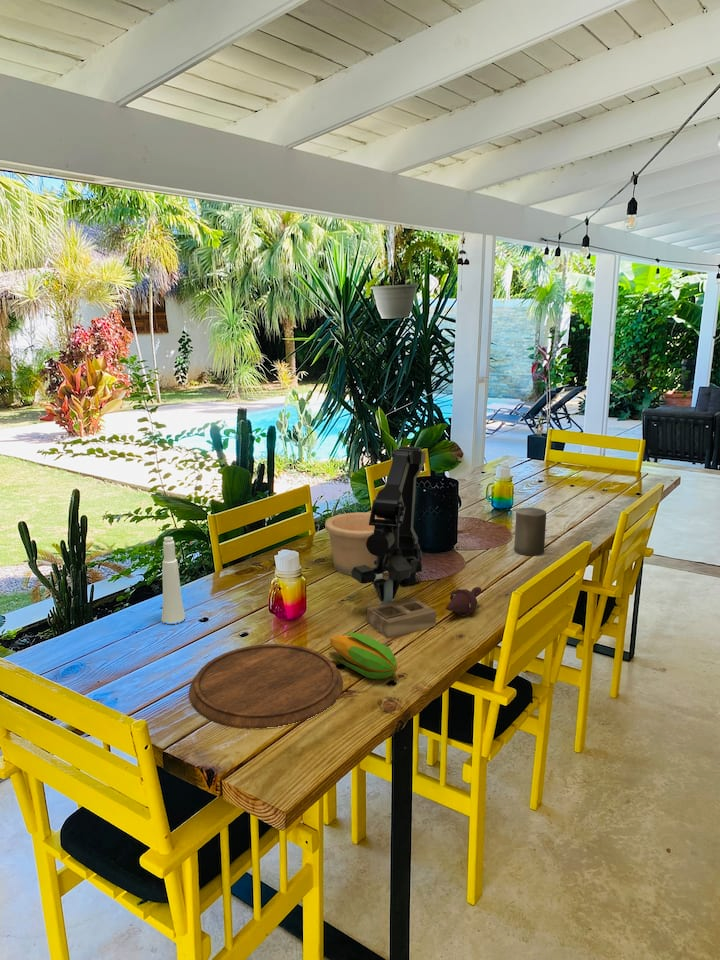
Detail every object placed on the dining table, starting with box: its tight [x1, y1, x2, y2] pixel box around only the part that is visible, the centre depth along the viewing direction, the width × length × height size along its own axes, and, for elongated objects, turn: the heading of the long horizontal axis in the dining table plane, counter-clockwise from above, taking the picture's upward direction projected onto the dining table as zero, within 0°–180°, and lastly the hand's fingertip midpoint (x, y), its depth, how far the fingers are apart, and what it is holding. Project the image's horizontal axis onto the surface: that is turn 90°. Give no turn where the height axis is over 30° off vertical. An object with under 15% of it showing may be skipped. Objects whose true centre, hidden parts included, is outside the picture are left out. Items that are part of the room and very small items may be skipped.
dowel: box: [380, 577, 394, 605], centre depth 188 cm, size 3×3×8 cm
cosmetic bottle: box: [161, 536, 186, 623], centre depth 179 cm, size 6×6×22 cm
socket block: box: [366, 597, 437, 639], centre depth 179 cm, size 10×14×4 cm
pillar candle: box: [513, 507, 547, 557], centre depth 232 cm, size 10×10×15 cm
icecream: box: [445, 586, 482, 617], centre depth 185 cm, size 7×7×15 cm
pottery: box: [324, 511, 384, 576], centre depth 218 cm, size 22×22×14 cm
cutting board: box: [188, 643, 344, 729], centre depth 150 cm, size 32×32×3 cm
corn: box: [329, 631, 399, 680], centre depth 157 cm, size 7×8×20 cm
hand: (387, 599), depth 188 cm, fingers closed on dowel, 3 cm apart
